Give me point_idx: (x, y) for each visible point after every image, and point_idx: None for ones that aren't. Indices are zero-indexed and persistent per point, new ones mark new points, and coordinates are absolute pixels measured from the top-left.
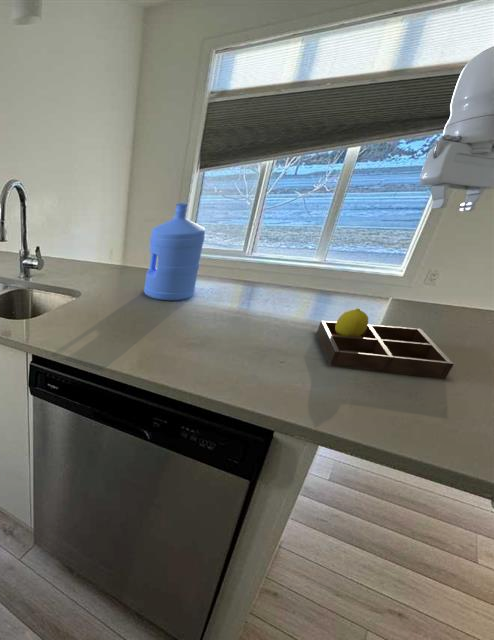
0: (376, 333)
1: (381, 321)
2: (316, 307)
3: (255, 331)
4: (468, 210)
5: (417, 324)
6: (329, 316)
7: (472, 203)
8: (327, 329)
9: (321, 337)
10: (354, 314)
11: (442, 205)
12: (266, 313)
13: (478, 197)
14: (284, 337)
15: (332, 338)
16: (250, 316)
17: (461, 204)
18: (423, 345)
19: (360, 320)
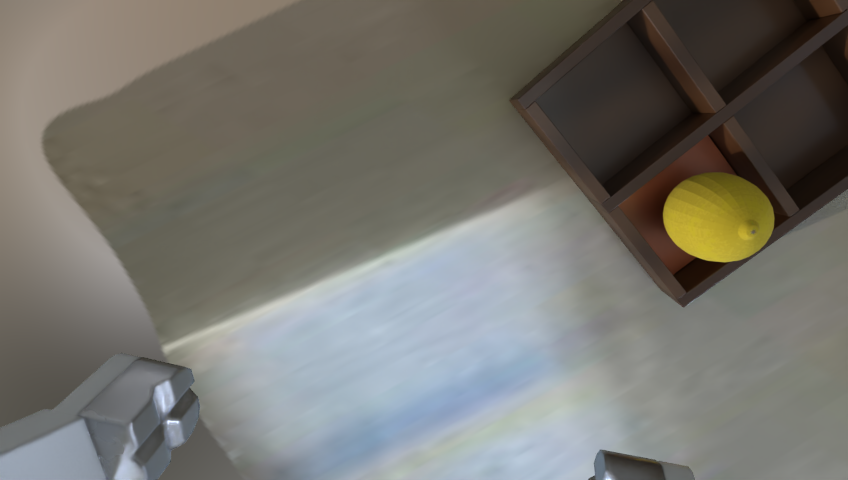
0: (675, 149)
1: (399, 249)
2: (433, 420)
3: (781, 389)
4: (182, 366)
5: (336, 178)
6: (482, 354)
7: (129, 406)
8: None
9: None
10: (769, 220)
11: (692, 473)
12: None
13: (3, 446)
14: (764, 318)
15: (824, 196)
16: None
17: (160, 471)
18: (661, 17)
19: (761, 191)
